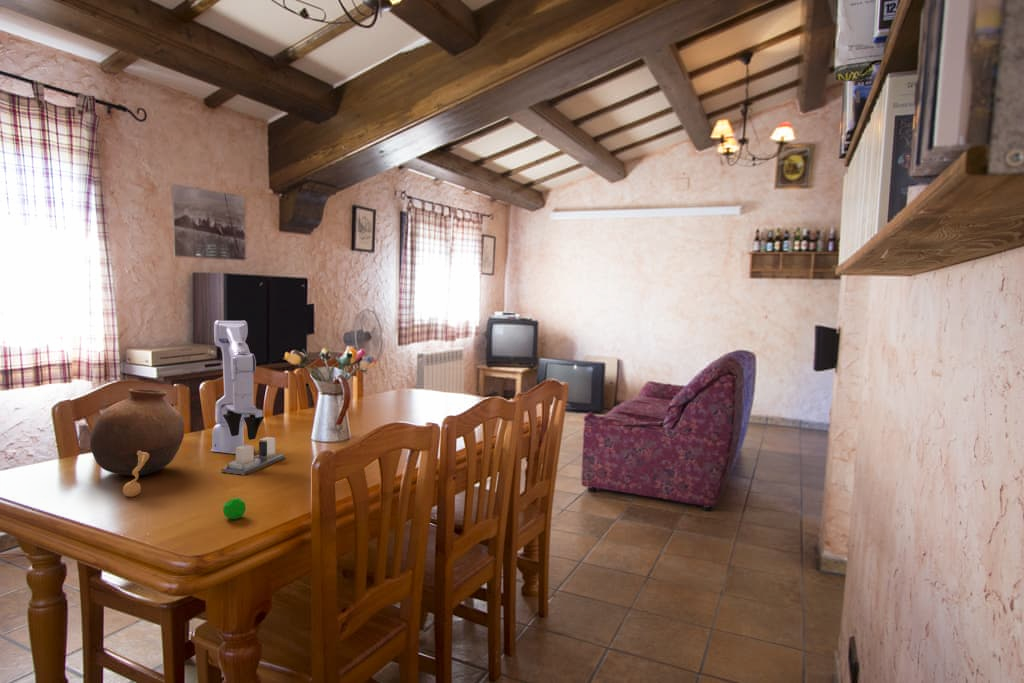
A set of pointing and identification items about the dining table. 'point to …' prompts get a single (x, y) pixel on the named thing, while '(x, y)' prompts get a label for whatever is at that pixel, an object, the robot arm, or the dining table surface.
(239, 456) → the block
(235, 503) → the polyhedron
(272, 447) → the grey divided tray
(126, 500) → the dining table surface
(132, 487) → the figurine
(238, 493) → the dining table surface
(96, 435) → the pottery
